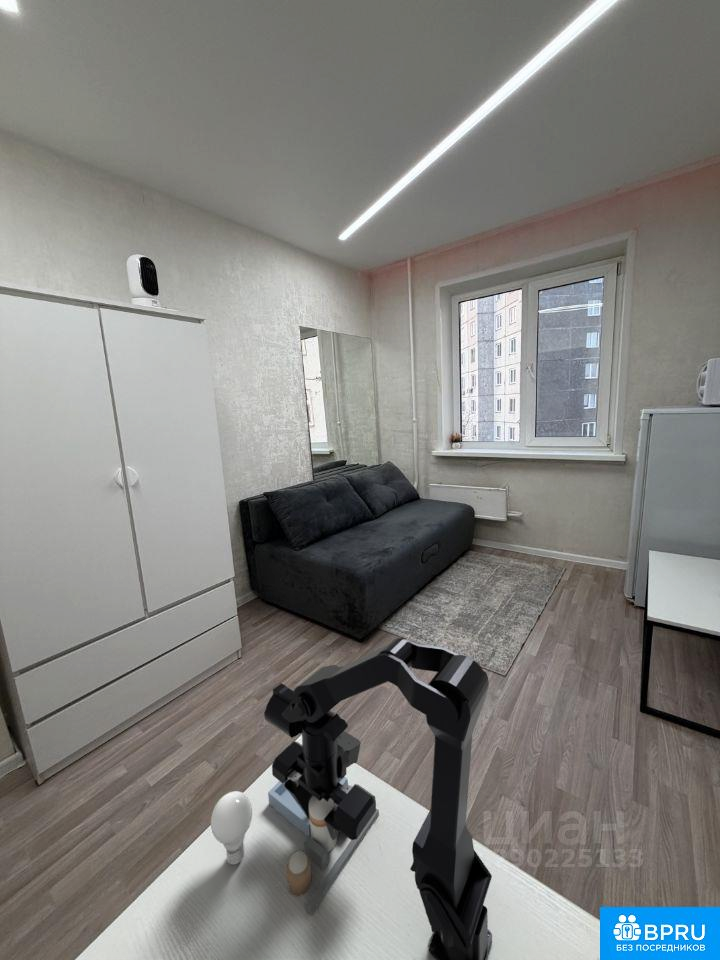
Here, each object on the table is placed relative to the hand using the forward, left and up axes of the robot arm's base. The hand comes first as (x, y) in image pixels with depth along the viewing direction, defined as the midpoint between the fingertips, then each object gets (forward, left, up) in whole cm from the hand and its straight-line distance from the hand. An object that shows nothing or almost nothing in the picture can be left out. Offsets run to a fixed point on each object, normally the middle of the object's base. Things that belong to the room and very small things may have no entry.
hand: (322, 827), depth 64 cm
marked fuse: (0, 0, -2) cm, 2 cm away
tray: (+7, -4, -2) cm, 8 cm away
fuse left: (-1, +7, -2) cm, 7 cm away
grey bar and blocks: (-3, 0, -2) cm, 3 cm away
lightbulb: (+10, +11, -2) cm, 15 cm away
